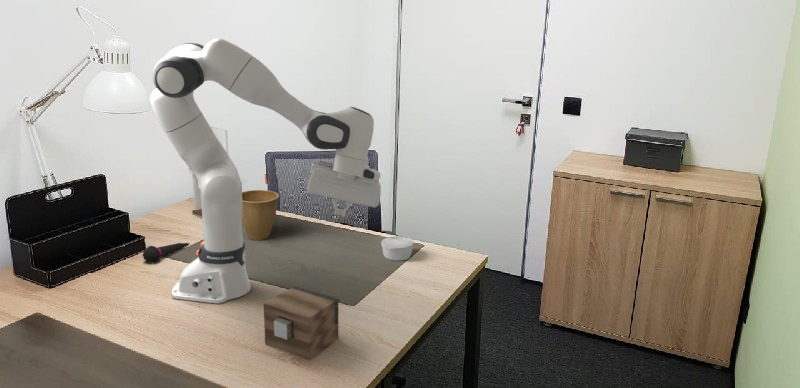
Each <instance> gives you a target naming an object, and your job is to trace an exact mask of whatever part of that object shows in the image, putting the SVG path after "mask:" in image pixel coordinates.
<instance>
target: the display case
mask: <svg viewBox="0 0 800 388" xmlns="http://www.w3.org/2000/svg"><path fill="white" fill-rule="evenodd" d="M209 126H210V125H209ZM210 127H211V129H212V131H213V132H214V134H215V136H216V137H217V139H218V140H219V142H220V143H221V145H222V146H223V148H224V149H225V151H226V152H227V154H228V155H229V140H228V139H229V138H228V130H226V129H225V128H224V129H223V128H219V127H214V126H210ZM188 171H189V172H188V173H189V174H191V175H192V189H193V202H194V203H193V204H194V209H193V210H192V211H191V213H192V216H193V215H195V216H194V217H196V216H197V217H196V218H198V217H200V218H199V219H201V218H202V205H201V190H200V184H199V181H198V179H197V178H196V176H195V175H194V173H193V172H192V171H191V169H190V168H189V167H188Z"/></svg>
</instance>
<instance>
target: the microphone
mask: <svg viewBox="0 0 800 388" xmlns="http://www.w3.org/2000/svg"><path fill="white" fill-rule="evenodd" d="M188 244H189V245H190V242H178V243H177V242H176V243H173V244H168V245H162V246H159V247H158V246H154V245H149V246H148V247H146V248H145V249H144V250H143V251H142V258H143V259H144V261H145V262H147V263H152V262H155V263H157V262H158V261H159V259H160V258H162V257H167V255H168V256H169V255H171V254H173V253H175V251H176V252H178V251H180V250H182V249H184V248H185V247H187V246H189V245H188ZM186 245H187V246H186ZM184 246H185V247H184ZM183 247H184V248H183ZM177 250H178V251H177Z"/></svg>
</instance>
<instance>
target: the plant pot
mask: <svg viewBox="0 0 800 388" xmlns="http://www.w3.org/2000/svg"><path fill="white" fill-rule="evenodd" d="M278 202H279V193H277V192H275V191H272V190H266V189H254V190H253V189H252V190H246V191H242V226H243V228H244V230H245V233H246V235H247V237H248V238H249V239H250V240H253V241H262V240H263V241H264V240H267V239H268V238H269V237H270V234H271V232H272V229H273V226H274V223H275V218H276V214H277V210H278Z"/></svg>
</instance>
